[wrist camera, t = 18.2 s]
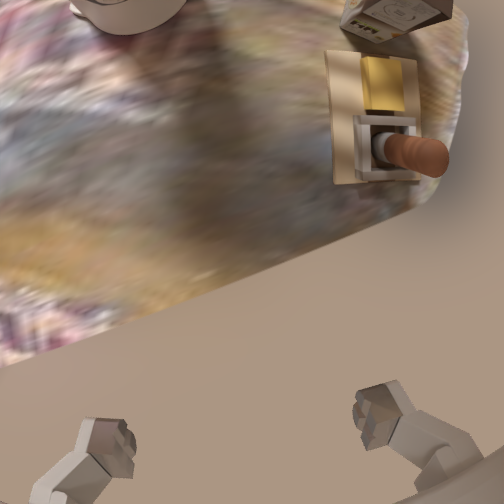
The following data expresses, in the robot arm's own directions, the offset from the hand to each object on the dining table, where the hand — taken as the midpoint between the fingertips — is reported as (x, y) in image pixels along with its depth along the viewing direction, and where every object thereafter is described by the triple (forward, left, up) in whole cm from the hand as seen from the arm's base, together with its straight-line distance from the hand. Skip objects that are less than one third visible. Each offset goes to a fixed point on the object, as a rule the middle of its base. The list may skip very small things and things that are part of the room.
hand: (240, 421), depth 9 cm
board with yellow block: (-9, +22, -33) cm, 41 cm away
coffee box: (-25, +22, -33) cm, 47 cm away
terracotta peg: (-5, +22, -32) cm, 39 cm away
